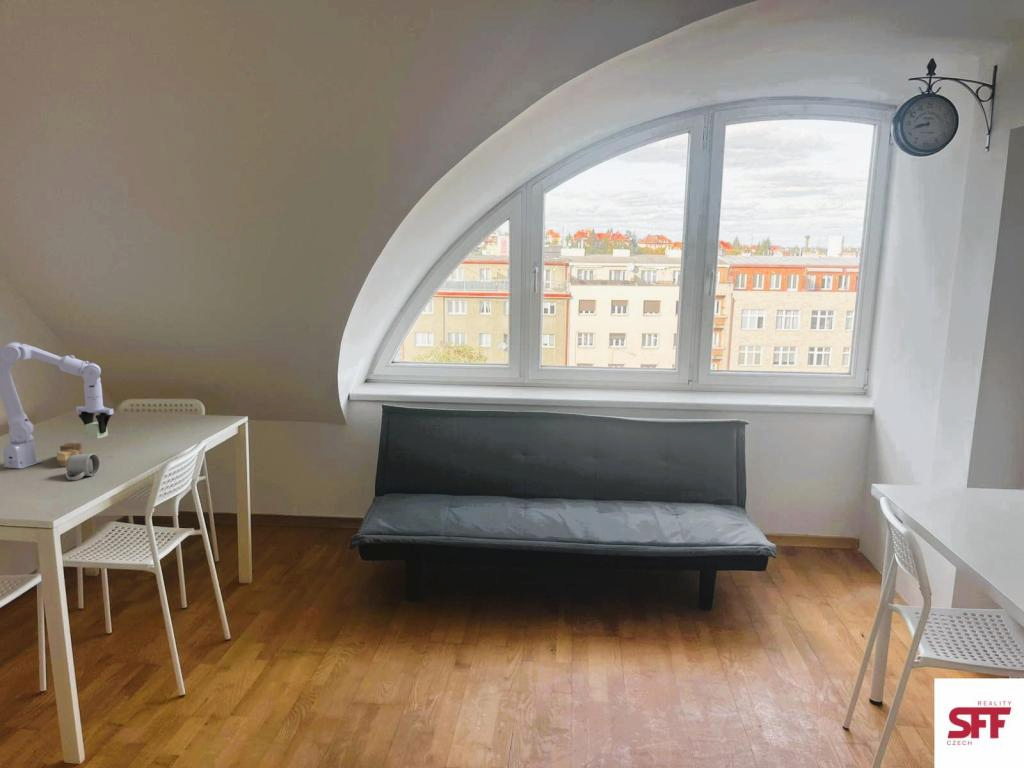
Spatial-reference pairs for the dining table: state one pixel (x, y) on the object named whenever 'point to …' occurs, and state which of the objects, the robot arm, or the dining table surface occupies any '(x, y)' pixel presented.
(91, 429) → the sage block
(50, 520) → the dining table surface
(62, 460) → the oak block
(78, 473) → the ceramic mug
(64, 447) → the walnut block
